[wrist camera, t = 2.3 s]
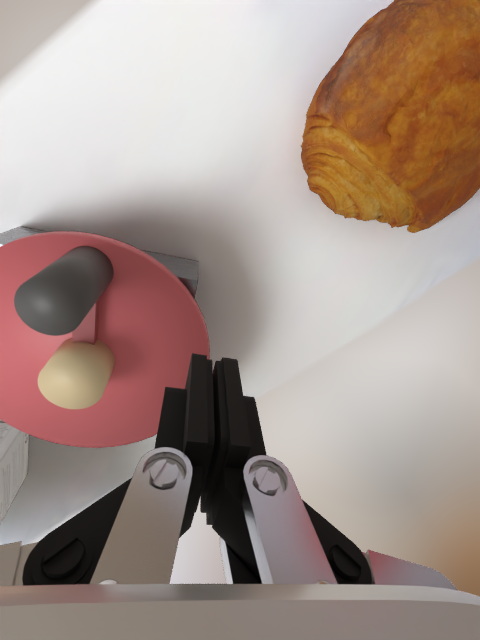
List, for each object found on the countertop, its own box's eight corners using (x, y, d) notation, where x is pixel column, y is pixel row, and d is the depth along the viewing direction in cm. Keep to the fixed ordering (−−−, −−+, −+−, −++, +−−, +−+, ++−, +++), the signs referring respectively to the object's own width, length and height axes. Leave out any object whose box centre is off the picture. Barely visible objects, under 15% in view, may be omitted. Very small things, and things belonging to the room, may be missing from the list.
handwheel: (189, 444, 30) (186, 521, 23) (-28, 427, 26) (-102, 514, 20) (230, 261, 22) (243, 301, 16) (-66, 202, 19) (-205, 223, 12)
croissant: (260, 125, 25) (266, 124, 19) (450, -65, 20) (557, -166, 13) (354, 255, 31) (385, 291, 24) (522, 133, 26) (625, 134, 19)
